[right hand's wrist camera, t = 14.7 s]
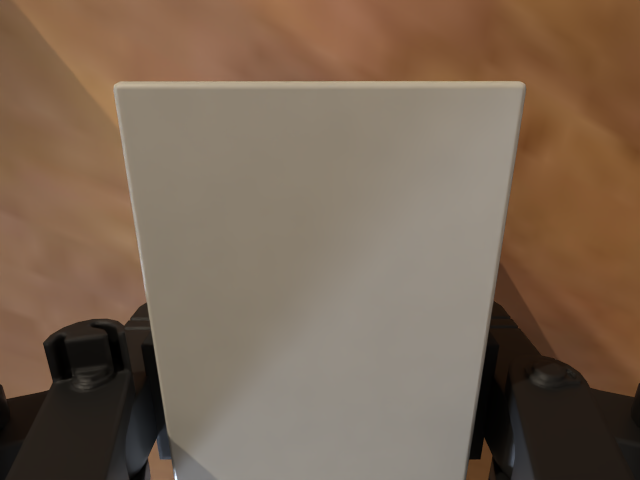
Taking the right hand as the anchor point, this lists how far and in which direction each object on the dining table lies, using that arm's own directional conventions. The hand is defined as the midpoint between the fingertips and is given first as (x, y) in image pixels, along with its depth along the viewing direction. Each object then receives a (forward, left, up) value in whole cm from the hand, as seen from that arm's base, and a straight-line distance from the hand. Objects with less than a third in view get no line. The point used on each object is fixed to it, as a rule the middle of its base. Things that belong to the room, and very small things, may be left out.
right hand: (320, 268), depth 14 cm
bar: (-10, -18, -1) cm, 21 cm away
